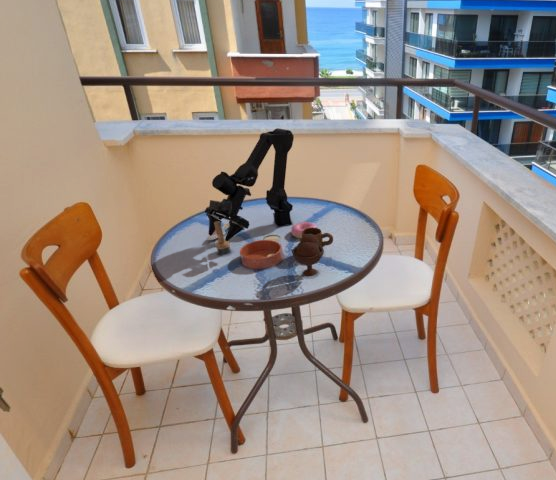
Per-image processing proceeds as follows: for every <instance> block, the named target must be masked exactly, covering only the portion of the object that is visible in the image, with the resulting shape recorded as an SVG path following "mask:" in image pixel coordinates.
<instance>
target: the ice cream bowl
mask: <svg viewBox="0 0 556 480" xmlns="http://www.w3.org/2000/svg"><path fill="white" fill-rule="evenodd" d="M299 239H300V241H299V242H298V243H297V245H296V246H294V247H293V249H292V250H291V254H292V256H293V258H294V261H296V263H298V264H300V265H303V266H306V269H305V270H303V272H302V275H303V276H304V277H314V276H316V275H317V274H318V270H317V269H315V268H313V265H316V264H317V263H319V261H320V260H321V259H322V258H323V255H324V251H325V250H324V247H323V248H322V246H321V245H318V243H319V240H318V238H317V237H316V236H315V235H313V234H305V235H304V236H303V237H302V238H299Z"/></svg>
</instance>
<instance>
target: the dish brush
mask: <svg viewBox="0 0 556 480" xmlns="http://www.w3.org/2000/svg"><path fill="white" fill-rule="evenodd" d="M220 221H221V220H220ZM220 221H215V222H214V225H215V229H216V233H217V237H218V238H217V241H215V248H216V250H217V254H218V255H221V256H225V255H229V254H230V253H231V248H230V240H229V241H225V236H224V235H223V232H222V227H223V226H222V222H221V223H220Z"/></svg>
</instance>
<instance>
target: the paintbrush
mask: <svg viewBox="0 0 556 480" xmlns="http://www.w3.org/2000/svg"><path fill="white" fill-rule="evenodd" d="M230 222H232V221H230ZM221 227H222V232H223V236H224V235H227V232H226V230H228V229H229V227H230V225H229V221H227V223H225V224H224V225H223V226H221ZM216 239H218V237H217V233H216V230H215V232H214V233H213V234H212V235H209V234H208V237H207V238H206V241H207V240H208V241H213V240H216Z"/></svg>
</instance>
